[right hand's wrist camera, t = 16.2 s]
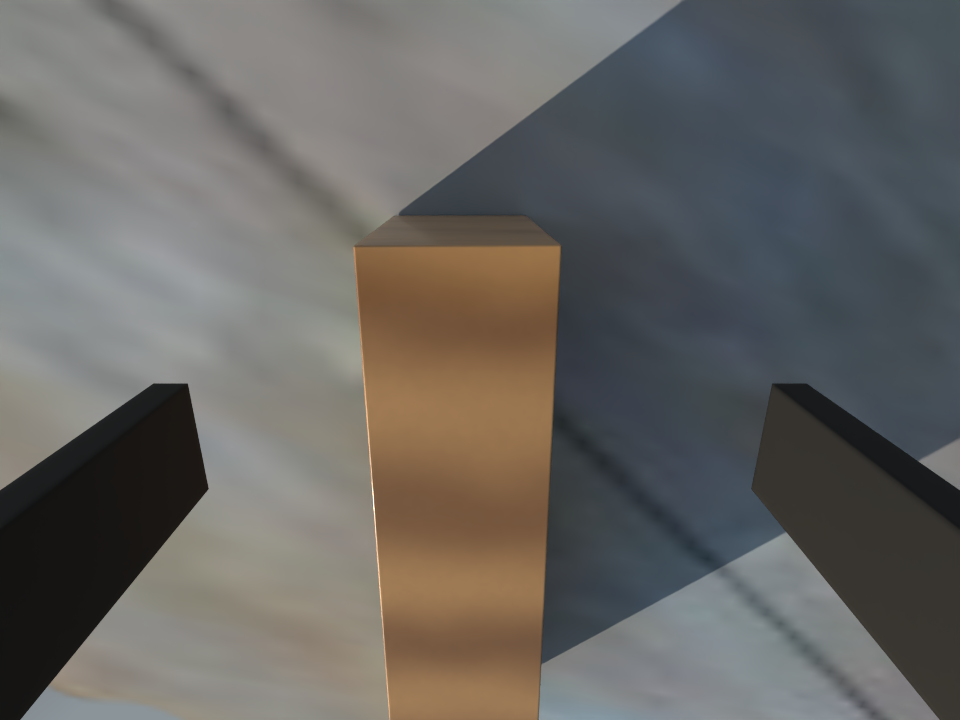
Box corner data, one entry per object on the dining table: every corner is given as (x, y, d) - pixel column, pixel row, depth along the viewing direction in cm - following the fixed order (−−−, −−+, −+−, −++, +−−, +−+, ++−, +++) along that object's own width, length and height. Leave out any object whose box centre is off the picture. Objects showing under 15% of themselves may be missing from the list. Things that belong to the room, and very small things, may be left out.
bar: (393, 215, 24) (353, 245, 15) (526, 215, 24) (562, 244, 16) (417, 682, 33) (400, 869, 25) (513, 680, 34) (531, 865, 25)
